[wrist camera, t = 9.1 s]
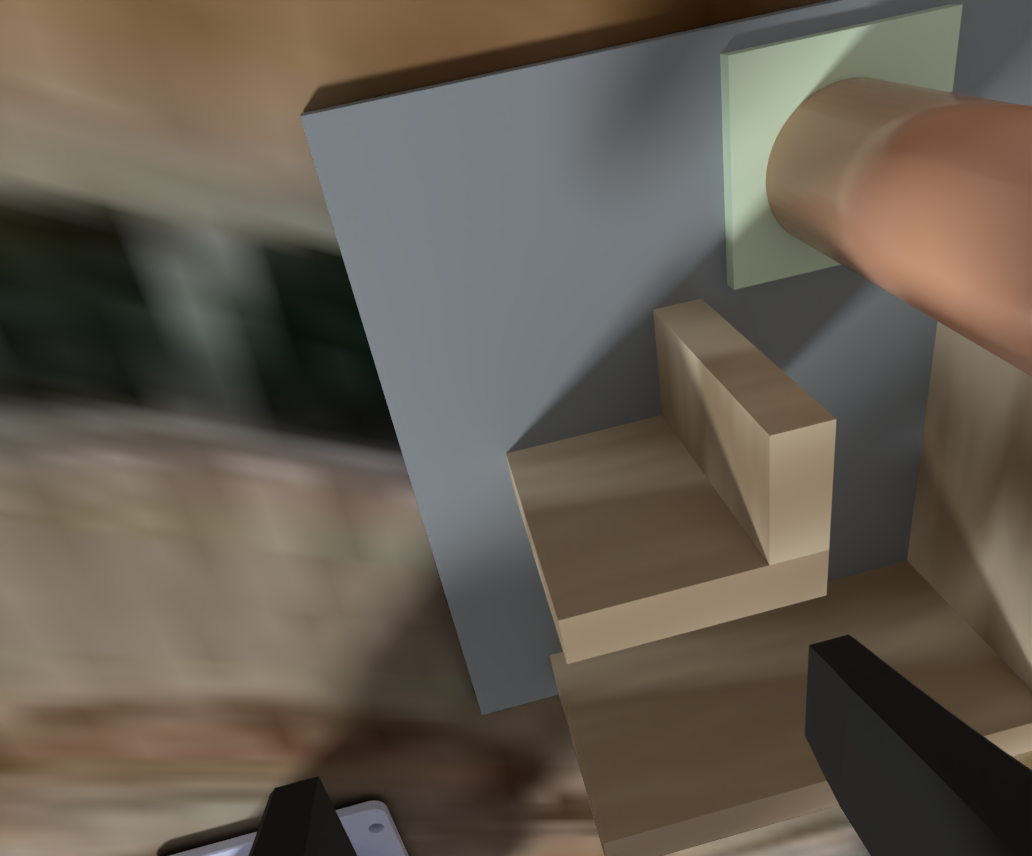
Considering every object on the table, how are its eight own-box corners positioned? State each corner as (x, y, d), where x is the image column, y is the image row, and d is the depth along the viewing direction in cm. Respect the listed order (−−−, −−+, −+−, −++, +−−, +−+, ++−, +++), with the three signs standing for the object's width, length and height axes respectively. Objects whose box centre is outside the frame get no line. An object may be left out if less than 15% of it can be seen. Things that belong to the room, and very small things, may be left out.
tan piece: (938, 578, 24) (1090, 733, 19) (555, 681, 24) (609, 870, 19) (993, 228, 18) (1236, 318, 13) (483, 350, 18) (532, 494, 13)
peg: (909, 226, 18) (1250, 377, 11) (765, 258, 17) (1018, 432, 10) (927, 61, 16) (1351, 117, 9) (766, 95, 16) (1074, 177, 9)
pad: (923, 237, 18) (934, 242, 18) (726, 284, 18) (734, 289, 18) (949, 4, 16) (962, 4, 15) (720, 53, 15) (728, 55, 15)
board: (944, 578, 25) (954, 588, 25) (479, 702, 24) (481, 715, 24) (1046, -47, 16) (1065, -48, 16) (301, 112, 15) (299, 116, 15)
